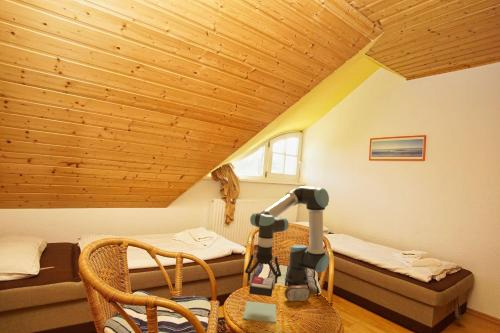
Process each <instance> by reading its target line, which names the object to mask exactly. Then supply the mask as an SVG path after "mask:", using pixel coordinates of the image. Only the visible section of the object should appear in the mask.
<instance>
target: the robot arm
mask: <svg viewBox="0 0 500 333" xmlns="http://www.w3.org/2000/svg"><path fill="white" fill-rule="evenodd" d="M329 196H330V195H329V193H328V191H327V190H326V189H325V188H324V187H323V188H322V187H319V186H317V187H315V186H308V185H307V186H306V185H301V186H298V187H295V188H293V189H291V190H289V191H288V192H286V193H285V196H283V197H282V198H280V199H278V200H277V201H276V202H274V203H273V204H271V205H270V206H268V207H267V208H265V209H264V210H262V211H261V212H253V213H252V214H251V215H250V218H249V222H250V225H251V226H254V227H257V228H258V237H257V238H258V239H257V252H256V254H255V253H251V254H250V260H249V261H248V264H247V266H246V268H245V270H244V273H245V274H247V281H249V289H250V285H251V282H252V280H253V272H254V270H255V269H256V268H257V267H258V266H259V265H268V266H269V268H270V270H271V272H272V274H273V291H275V285H277V284H278V279H279V277H282V272H281V269H280V268H281V267H280V265H279V261H278V259H279V257H278V256H277V255H275V256H274V255H273V245H274V244H273V242H274V241H273V240H274V234H275V233H280V232H281V233H282V232H285V231H287V230H288V228H289V226H290V223H289V220H288V218H286V217H282V216H280V215H282V214H283V213H285V212H286V211H287V210H289V209H290V208H292V207H294V206H297V205H302V204H303V205H305V207H306V210H307V211H308V232H309V233H308V239H309V240H308V242H309V246H307V245H304V244H303V245H301V244H296V245H295V244H294V245H292V246H290V248H289V258H288V260H289V261H288V262H289V263H288V264H289V265H288V269H287V271H286V273H285V280H286V281H287V282H288V283H292V284H294V285H305V284H306V285H307V284H308V282H309V275H308V271H307V269H309V270H312V271H315V272H319V273H323V272H325V271H326V270H327V268H328V266H329V264H330V256H329V255H328V254H327V253H326V251H327V250H326V249H325V247H324V221H323V220H324V217H323V216H324V211H325V210H326V207H328V206H329V202H330V197H329ZM279 216H280V217H279ZM255 258H256V259H257V260H256V262H255V263H254V264H253V266H252V267H251V265H252V262H253V260H254V259H255ZM272 260H273V262H274V263H275V267H276V269H275V268H274V266H273V264H272V262H271V261H272ZM250 267H251V268H250ZM276 270H277V271H276ZM273 291H272V292H273Z"/></svg>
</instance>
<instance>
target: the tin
mask: <svg viewBox="0 0 500 333" xmlns="http://www.w3.org/2000/svg"><path fill="white" fill-rule="evenodd" d="M310 296H311V291H310V289H309V288H308V286H307V285H305V284H297V285H290V286H287V287H286V289H285V291H284V297H285V298H286V299H287V301H289V302H291V301H296V302H301V301H300V300H306V301H308V300H309V298H310Z"/></svg>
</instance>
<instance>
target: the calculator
mask: <svg viewBox="0 0 500 333" xmlns="http://www.w3.org/2000/svg"><path fill="white" fill-rule="evenodd" d="M273 280H274V278H269V277H261V276H254V277H252V282H251V285H250V284H249V287H250V288H249V291H248V292H249V293H248V294H249V295H256V296H263V297H272V295H273Z"/></svg>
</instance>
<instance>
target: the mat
mask: <svg viewBox="0 0 500 333" xmlns="http://www.w3.org/2000/svg"><path fill="white" fill-rule="evenodd" d="M242 320H247V321H254V322H264V323H270V324H271V323H272V324H277V304H274V303H266V302H259V301H257V302H255V301H249V300H247V301H246V303H245V307H244V312H243V315H242Z"/></svg>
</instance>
